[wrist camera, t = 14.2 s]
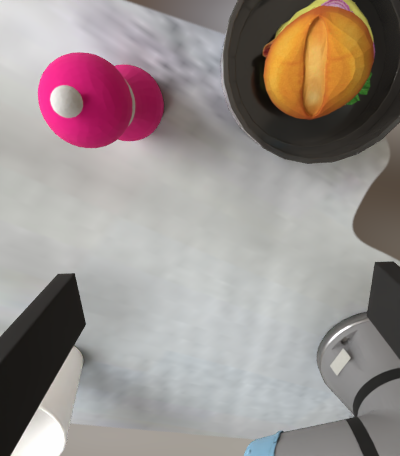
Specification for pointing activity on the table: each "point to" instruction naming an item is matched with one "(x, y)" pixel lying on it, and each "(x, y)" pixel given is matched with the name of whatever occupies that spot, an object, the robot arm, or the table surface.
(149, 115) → the pepper mill
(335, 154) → the bowl
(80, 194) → the table surface
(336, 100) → the cheeseburger
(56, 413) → the cup
